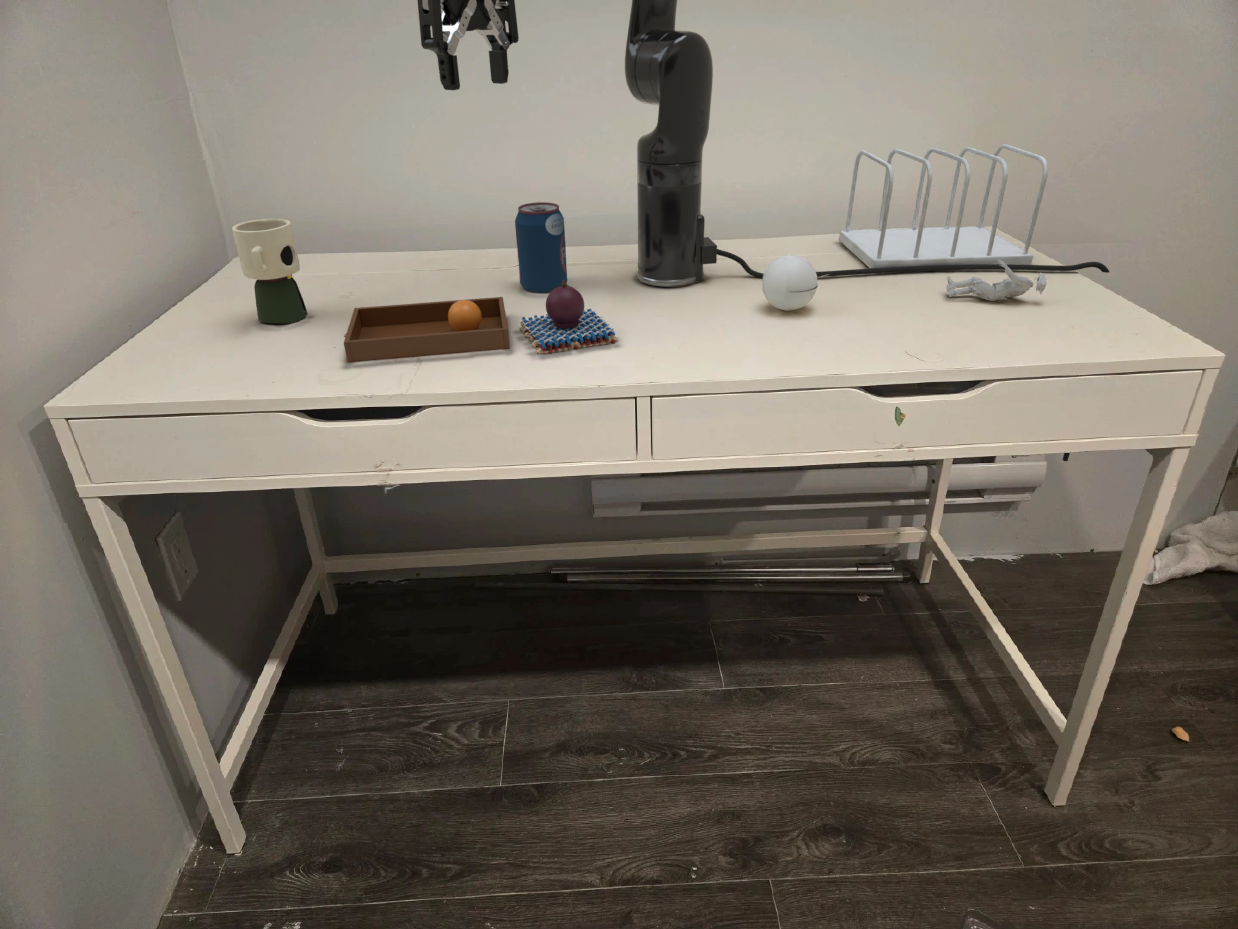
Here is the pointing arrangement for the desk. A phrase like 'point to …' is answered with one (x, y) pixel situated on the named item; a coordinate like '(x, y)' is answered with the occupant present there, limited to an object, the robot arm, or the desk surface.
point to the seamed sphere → (789, 282)
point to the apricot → (464, 316)
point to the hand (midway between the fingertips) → (476, 86)
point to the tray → (422, 331)
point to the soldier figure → (996, 286)
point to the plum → (565, 306)
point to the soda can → (541, 247)
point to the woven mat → (567, 333)
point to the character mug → (271, 268)
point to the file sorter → (939, 241)
